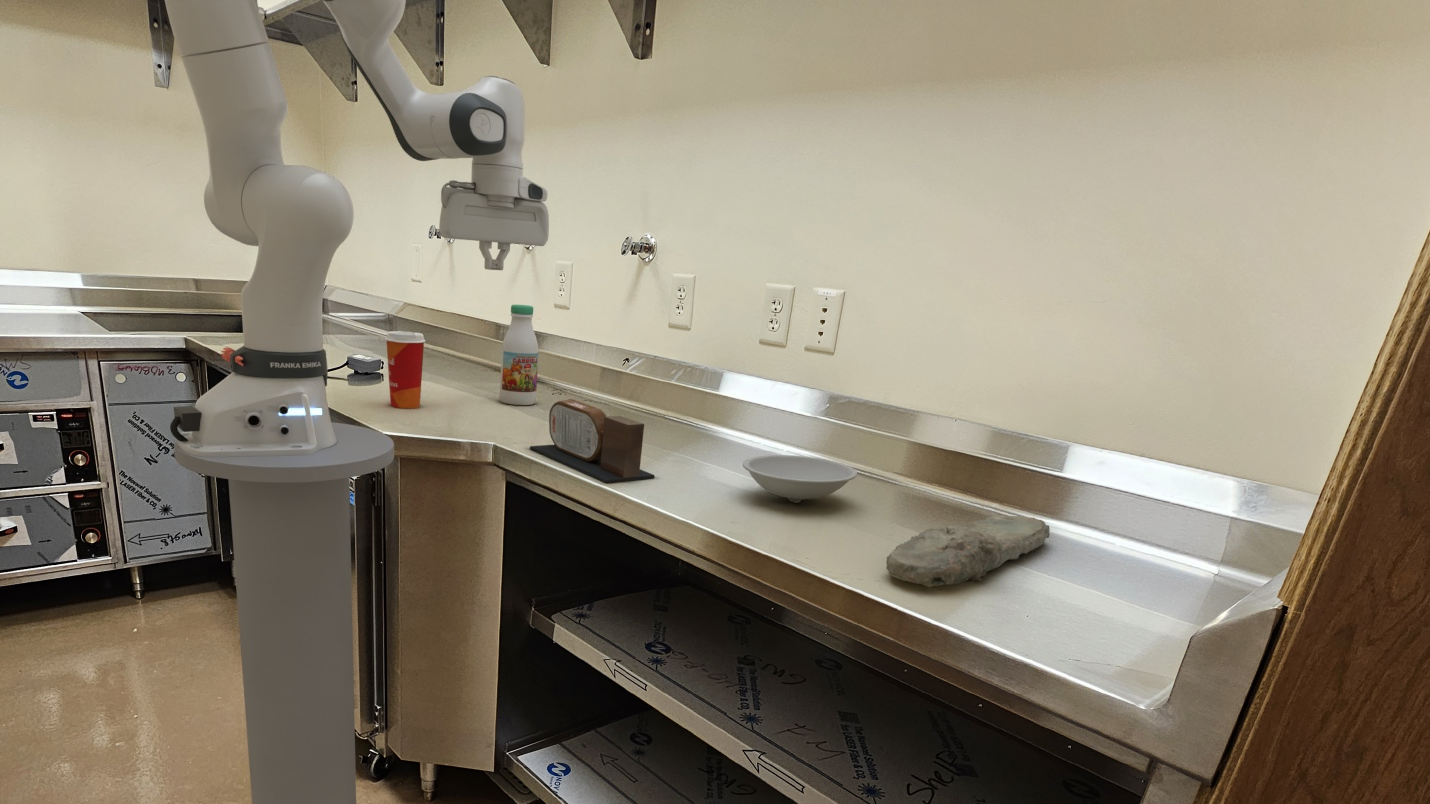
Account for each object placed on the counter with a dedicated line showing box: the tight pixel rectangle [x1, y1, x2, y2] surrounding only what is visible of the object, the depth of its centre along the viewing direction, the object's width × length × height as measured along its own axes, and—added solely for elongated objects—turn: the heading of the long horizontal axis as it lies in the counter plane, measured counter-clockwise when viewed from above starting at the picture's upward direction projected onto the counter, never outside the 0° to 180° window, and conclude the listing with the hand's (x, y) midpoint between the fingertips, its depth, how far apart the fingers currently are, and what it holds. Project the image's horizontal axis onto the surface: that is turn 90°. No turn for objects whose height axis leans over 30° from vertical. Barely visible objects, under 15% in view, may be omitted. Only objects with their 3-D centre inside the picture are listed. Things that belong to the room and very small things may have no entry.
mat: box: [529, 443, 655, 484], centre depth 133 cm, size 9×22×1 cm, turn 35°
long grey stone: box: [885, 514, 1051, 588], centre depth 101 cm, size 35×5×10 cm
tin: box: [548, 398, 608, 462], centre depth 134 cm, size 15×3×8 cm, turn 35°
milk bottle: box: [499, 304, 539, 406], centre depth 175 cm, size 8×8×20 cm
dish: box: [742, 454, 858, 503], centre depth 121 cm, size 18×14×5 cm
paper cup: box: [384, 330, 426, 410], centre depth 163 cm, size 8×8×14 cm
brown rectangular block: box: [600, 415, 645, 478], centre depth 126 cm, size 3×6×8 cm, turn 35°
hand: (493, 269), depth 150 cm, fingers closed
